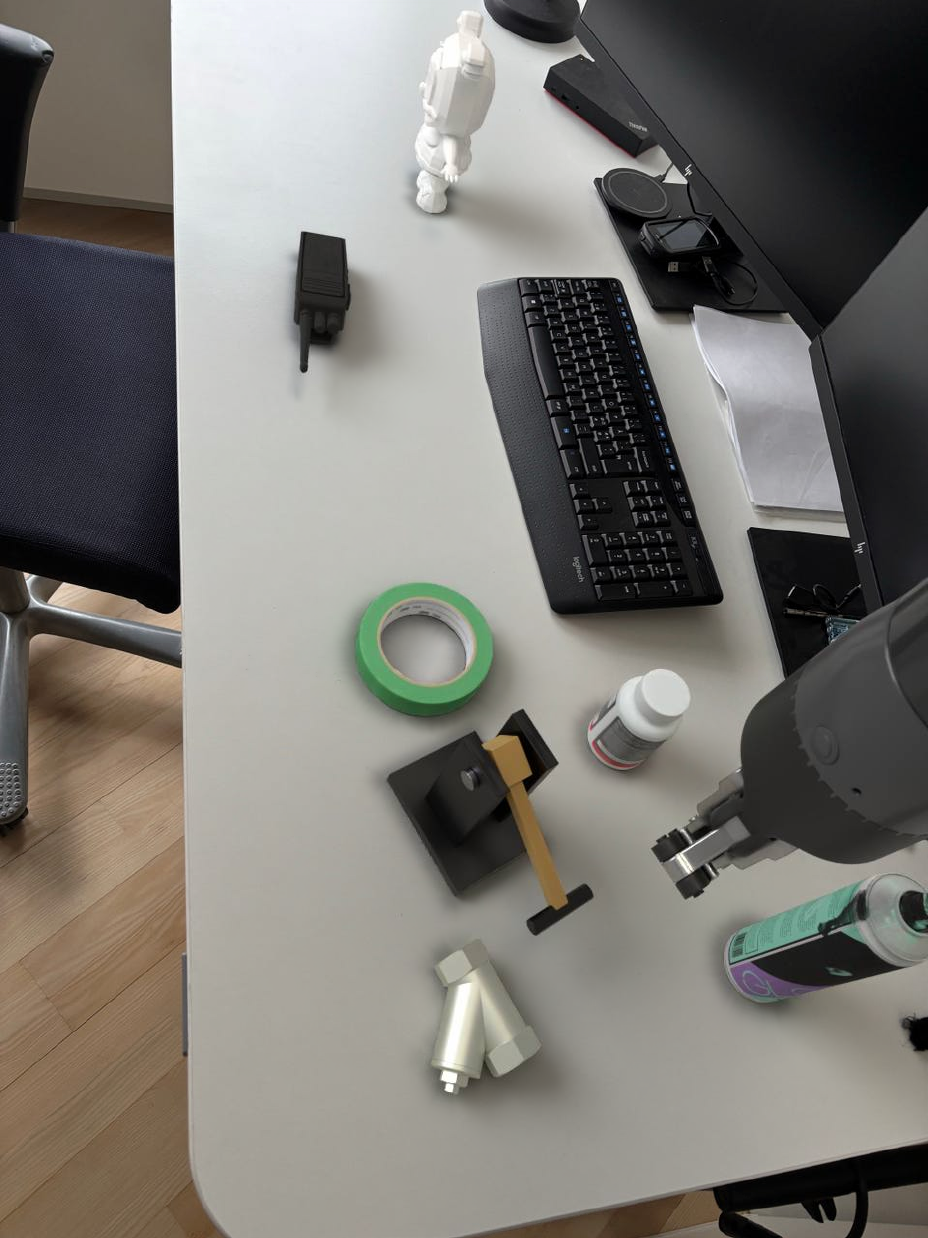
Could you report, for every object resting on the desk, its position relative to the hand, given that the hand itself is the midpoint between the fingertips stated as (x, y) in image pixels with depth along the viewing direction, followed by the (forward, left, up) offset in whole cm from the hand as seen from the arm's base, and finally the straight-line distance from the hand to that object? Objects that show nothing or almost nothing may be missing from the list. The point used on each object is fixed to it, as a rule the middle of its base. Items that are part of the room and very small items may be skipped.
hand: (681, 858), depth 48 cm
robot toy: (+75, -36, -23) cm, 86 cm away
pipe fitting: (-1, +8, -23) cm, 25 cm away
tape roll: (+24, -4, -23) cm, 34 cm away
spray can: (-10, -14, -23) cm, 29 cm away
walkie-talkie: (+60, -14, -23) cm, 66 cm away
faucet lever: (+7, 0, -15) cm, 17 cm away
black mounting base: (+11, 0, -23) cm, 25 cm away
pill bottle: (+10, -15, -23) cm, 29 cm away
